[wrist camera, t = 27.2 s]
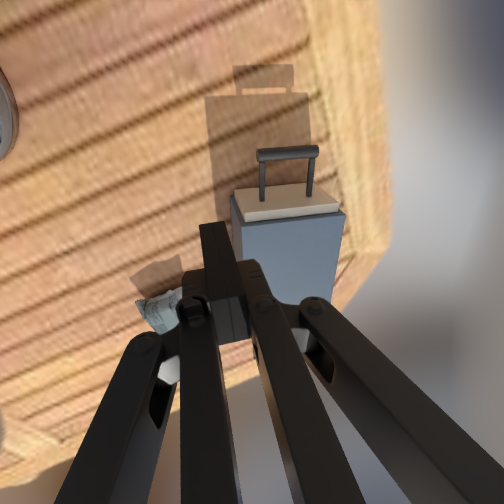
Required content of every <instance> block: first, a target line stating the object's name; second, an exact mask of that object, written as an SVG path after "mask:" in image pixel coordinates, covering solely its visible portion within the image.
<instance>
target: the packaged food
mask: <svg viewBox="0 0 504 504" xmlns="http://www.w3.org/2000/svg"><path fill="white" fill-rule="evenodd" d="M180 299H182V286H181V287H178V288H176V289H175V290H173V291H172V290H169V291H167V293H165V294H160V295H159V296H157V297H155V298H150V299H148V300H147V299H144V300H142V299H141V300H142V301H141V300H137V301H135V303H136V305H137V307H138V309H139V311H140V313H141V315H142V317H143V318H144V319H145V320H146V321H147V323H148V324H149V325H150V326H151V327H152V328H153V329H154V330H155V332H157V333H158V334H160V335H161V334H163V333H165V332H167V331H169V330H171V329H173V328H174V327H175V326H176V325H177V324H178V323H179V320H178V317H177V314H176V310H175V307H176V304H177V303H178V301H179V300H180Z"/></svg>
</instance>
